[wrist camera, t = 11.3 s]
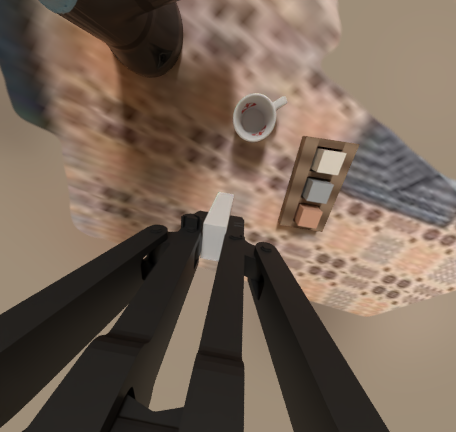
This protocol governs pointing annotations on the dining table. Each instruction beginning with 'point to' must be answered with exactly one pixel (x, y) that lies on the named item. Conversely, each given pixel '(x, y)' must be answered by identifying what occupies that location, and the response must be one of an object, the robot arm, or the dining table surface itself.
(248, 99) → the cup
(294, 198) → the key block
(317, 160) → the cream key
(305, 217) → the terracotta key
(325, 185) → the slate key
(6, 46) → the dining table surface
